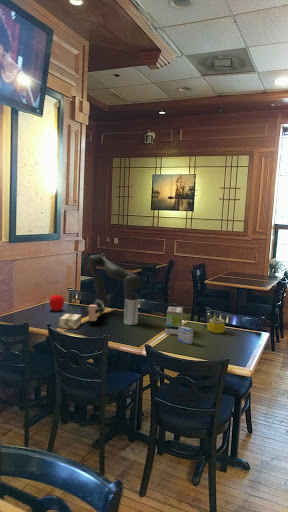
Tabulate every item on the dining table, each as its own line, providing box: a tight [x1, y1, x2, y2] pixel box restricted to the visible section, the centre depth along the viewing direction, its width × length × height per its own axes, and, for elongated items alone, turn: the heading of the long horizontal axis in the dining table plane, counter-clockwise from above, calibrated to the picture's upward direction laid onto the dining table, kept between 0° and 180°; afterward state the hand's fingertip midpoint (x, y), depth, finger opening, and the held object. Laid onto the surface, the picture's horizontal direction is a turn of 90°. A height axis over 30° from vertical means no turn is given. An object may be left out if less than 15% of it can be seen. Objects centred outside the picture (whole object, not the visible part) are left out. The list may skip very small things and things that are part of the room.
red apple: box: [48, 293, 65, 312], centre depth 279 cm, size 11×11×13 cm
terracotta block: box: [88, 304, 98, 322], centre depth 246 cm, size 5×5×10 cm
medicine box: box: [177, 325, 194, 345], centre depth 216 cm, size 8×4×9 cm, turn 45°
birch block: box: [58, 313, 82, 330], centre depth 241 cm, size 11×13×6 cm
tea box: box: [164, 306, 184, 336], centre depth 238 cm, size 15×10×15 cm, turn 171°
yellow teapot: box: [206, 314, 226, 334], centre depth 240 cm, size 13×11×12 cm
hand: (91, 312), depth 243 cm, fingers closed on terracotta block, 4 cm apart
